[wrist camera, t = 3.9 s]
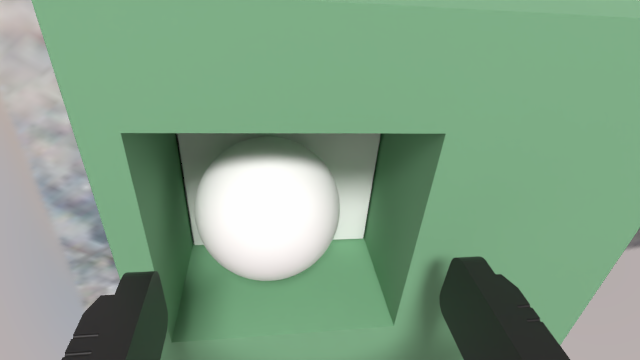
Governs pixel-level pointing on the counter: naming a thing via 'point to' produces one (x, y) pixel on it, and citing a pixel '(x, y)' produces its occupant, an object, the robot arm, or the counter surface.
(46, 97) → the counter surface
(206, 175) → the ball
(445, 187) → the green block with hole
